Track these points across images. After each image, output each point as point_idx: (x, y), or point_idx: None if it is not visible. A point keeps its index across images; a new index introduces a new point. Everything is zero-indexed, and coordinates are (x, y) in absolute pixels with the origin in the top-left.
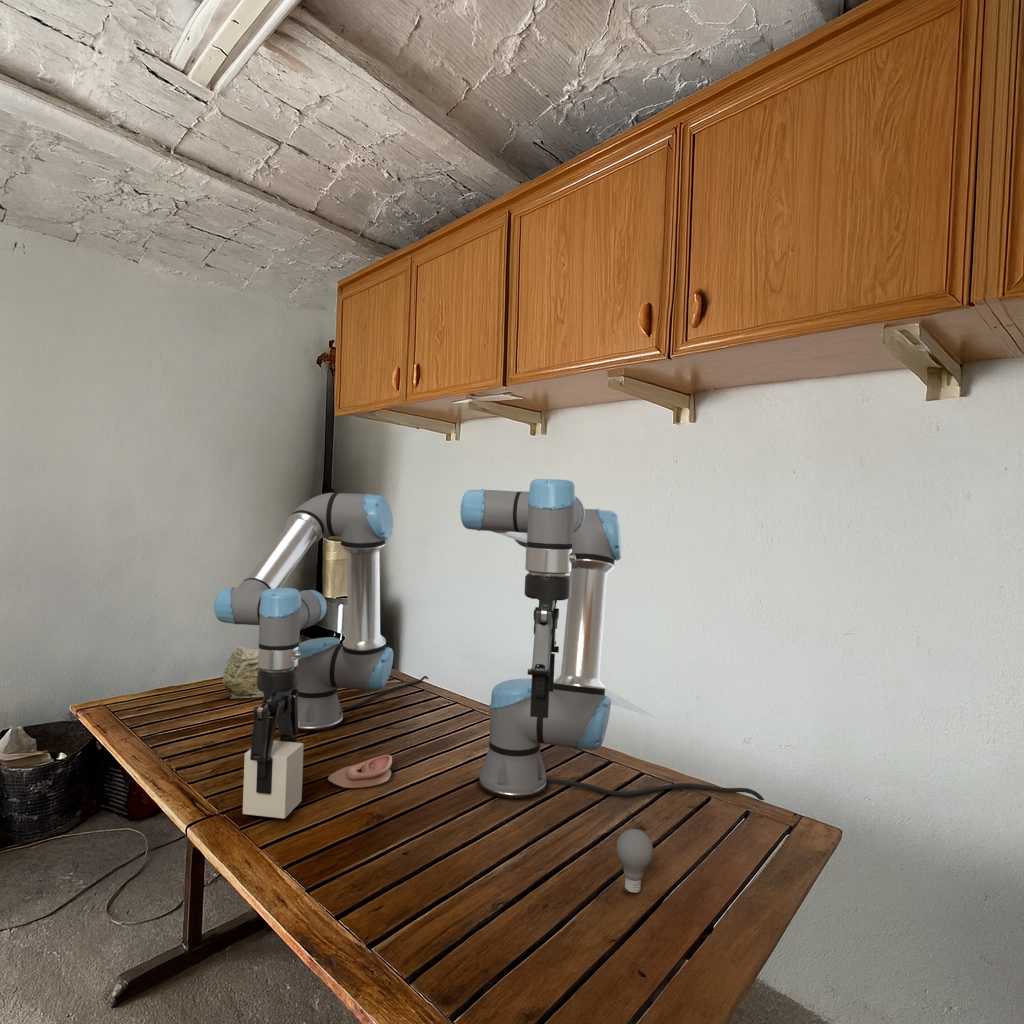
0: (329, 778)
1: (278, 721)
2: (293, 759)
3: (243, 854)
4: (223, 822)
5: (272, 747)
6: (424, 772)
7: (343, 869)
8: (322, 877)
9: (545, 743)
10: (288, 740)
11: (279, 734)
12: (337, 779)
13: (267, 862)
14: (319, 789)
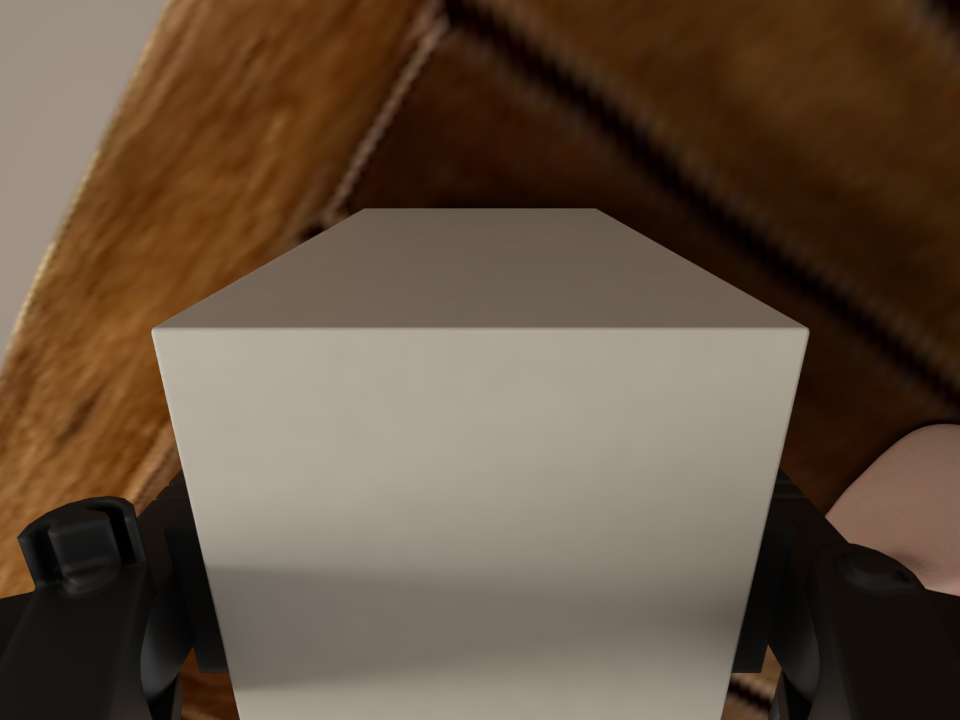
0: (912, 445)
1: None
2: None
3: (122, 367)
4: (346, 87)
5: (494, 593)
6: None
7: (194, 714)
8: None
9: None
10: (782, 662)
11: (828, 647)
12: (881, 499)
13: (117, 486)
14: (802, 424)
